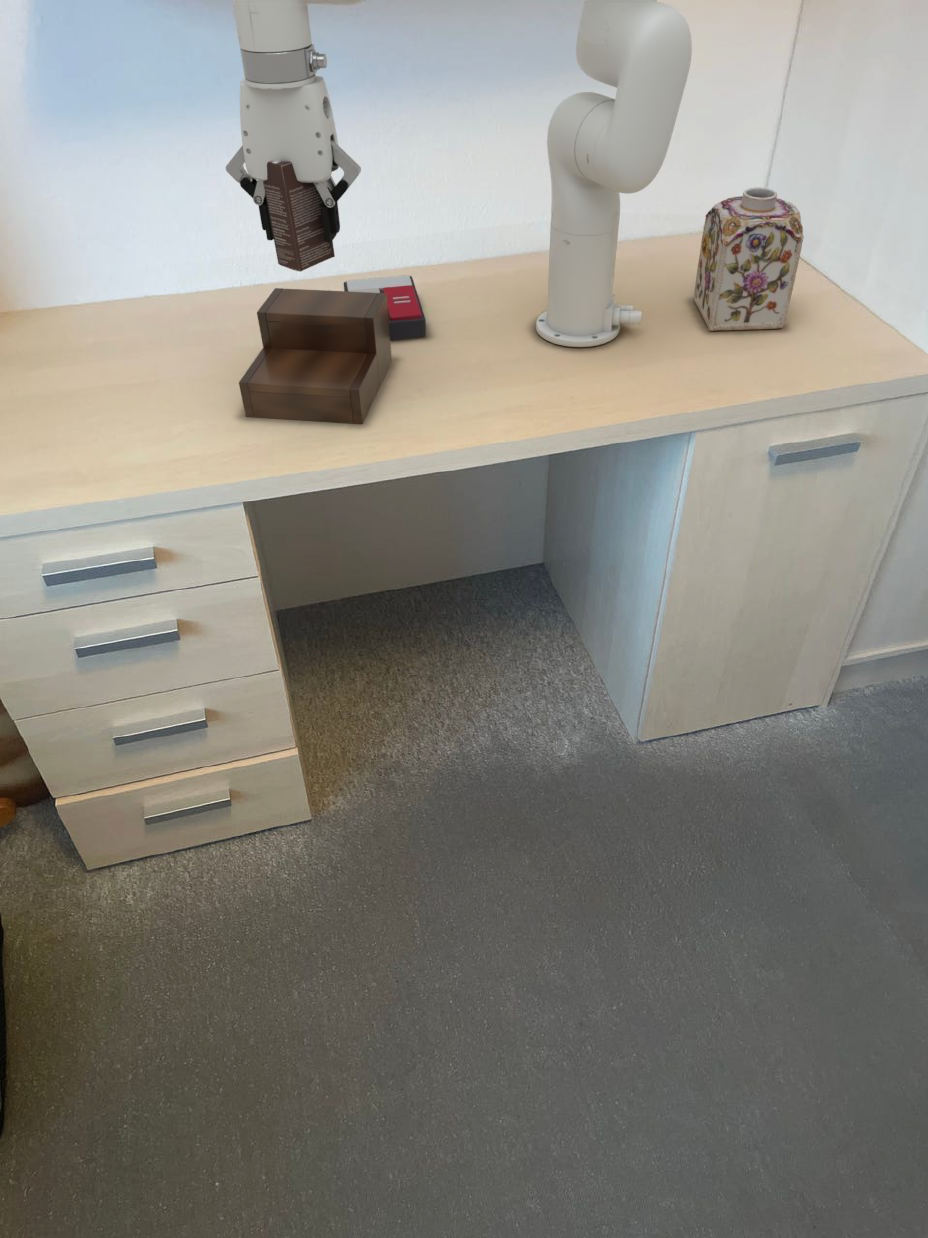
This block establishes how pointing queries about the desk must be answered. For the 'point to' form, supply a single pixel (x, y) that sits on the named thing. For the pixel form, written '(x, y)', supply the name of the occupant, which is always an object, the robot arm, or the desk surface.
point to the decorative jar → (748, 261)
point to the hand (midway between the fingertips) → (302, 235)
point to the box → (295, 218)
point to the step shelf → (318, 356)
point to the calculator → (396, 304)
